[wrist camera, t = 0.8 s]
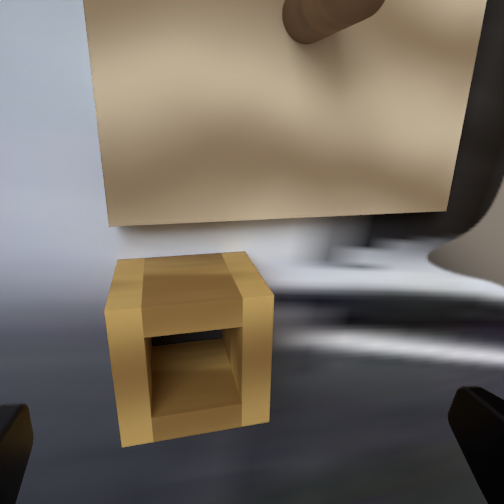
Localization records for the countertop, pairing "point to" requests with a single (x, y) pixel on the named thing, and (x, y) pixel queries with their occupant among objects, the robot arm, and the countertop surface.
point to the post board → (278, 106)
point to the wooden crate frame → (189, 345)
